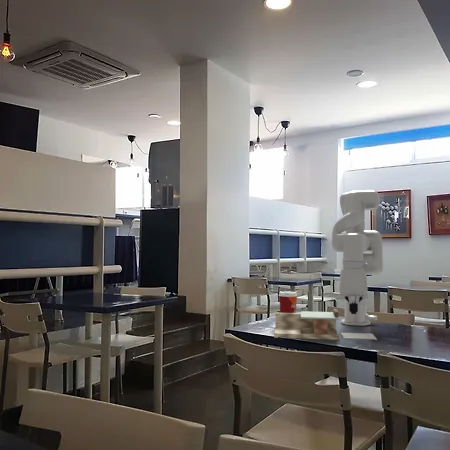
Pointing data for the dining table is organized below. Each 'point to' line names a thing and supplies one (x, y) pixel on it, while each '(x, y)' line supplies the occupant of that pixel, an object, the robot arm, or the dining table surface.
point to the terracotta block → (320, 326)
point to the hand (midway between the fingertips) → (353, 313)
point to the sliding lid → (320, 315)
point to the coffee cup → (288, 302)
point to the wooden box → (301, 327)
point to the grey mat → (358, 336)
